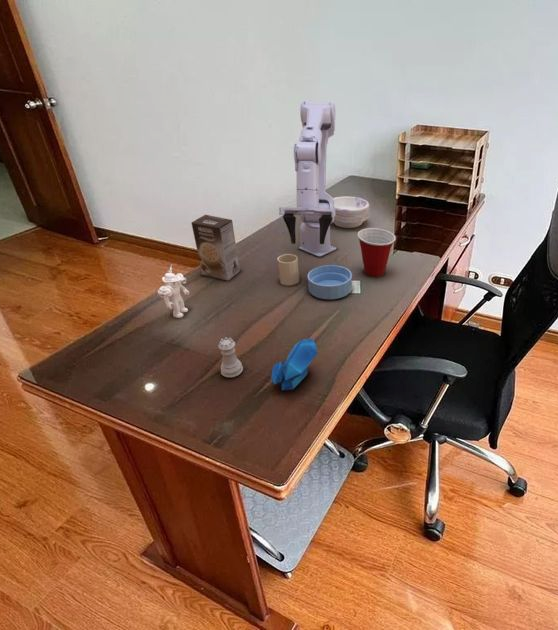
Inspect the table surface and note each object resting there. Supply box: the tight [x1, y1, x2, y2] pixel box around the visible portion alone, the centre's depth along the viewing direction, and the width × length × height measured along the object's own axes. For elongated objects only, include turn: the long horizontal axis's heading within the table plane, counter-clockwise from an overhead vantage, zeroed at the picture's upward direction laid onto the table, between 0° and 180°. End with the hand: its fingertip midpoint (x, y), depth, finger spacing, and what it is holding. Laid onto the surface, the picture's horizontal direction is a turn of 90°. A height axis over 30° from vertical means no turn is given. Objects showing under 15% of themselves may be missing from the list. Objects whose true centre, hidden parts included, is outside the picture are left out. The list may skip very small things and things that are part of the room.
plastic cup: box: [357, 227, 396, 278], centre depth 126 cm, size 11×11×12 cm
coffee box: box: [191, 214, 241, 281], centre depth 122 cm, size 9×6×16 cm
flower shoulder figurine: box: [157, 264, 190, 319], centre depth 105 cm, size 9×4×12 cm, turn 169°
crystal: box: [270, 338, 319, 391], centre depth 88 cm, size 7×9×12 cm
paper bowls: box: [332, 195, 370, 229], centre depth 158 cm, size 15×15×8 cm
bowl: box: [306, 264, 353, 300], centre depth 119 cm, size 12×12×4 cm
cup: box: [276, 253, 300, 286], centre depth 122 cm, size 6×6×7 cm
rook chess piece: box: [217, 336, 244, 379], centre depth 89 cm, size 4×4×8 cm
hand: (307, 243), depth 116 cm, fingers open, 7 cm apart
